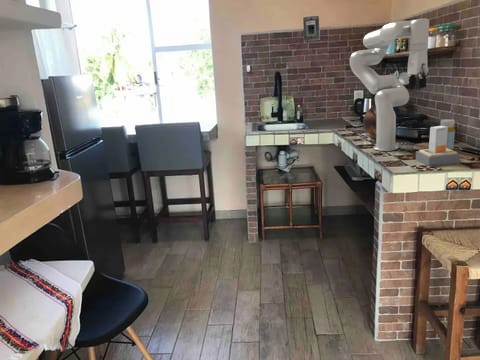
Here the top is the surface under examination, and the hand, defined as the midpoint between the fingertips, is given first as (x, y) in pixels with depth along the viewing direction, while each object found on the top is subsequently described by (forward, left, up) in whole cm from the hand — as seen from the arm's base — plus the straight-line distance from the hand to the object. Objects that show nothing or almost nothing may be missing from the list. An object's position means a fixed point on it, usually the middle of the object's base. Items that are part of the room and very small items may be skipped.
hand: (416, 87), depth 175 cm
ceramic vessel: (-48, +1, -34) cm, 59 cm away
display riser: (+12, +5, -33) cm, 36 cm away
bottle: (-6, +19, -34) cm, 39 cm away
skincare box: (+12, +5, -30) cm, 32 cm away
